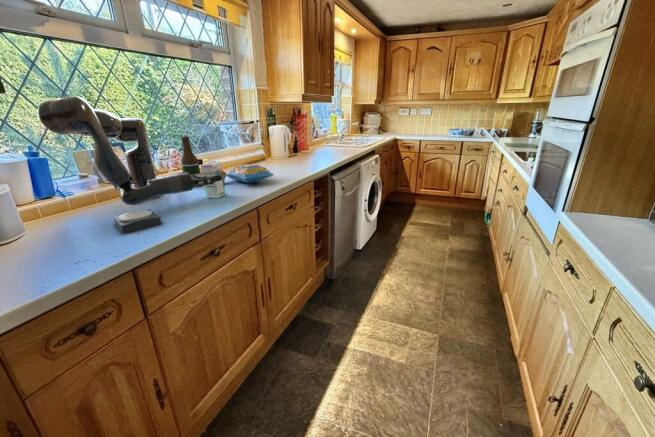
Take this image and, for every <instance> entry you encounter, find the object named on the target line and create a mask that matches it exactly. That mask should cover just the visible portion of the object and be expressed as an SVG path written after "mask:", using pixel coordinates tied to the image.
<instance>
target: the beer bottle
mask: <svg viewBox="0 0 655 437" xmlns="http://www.w3.org/2000/svg"><path fill="white" fill-rule="evenodd" d="M180 140H181V144H182V156H181V158H180V164H181V170H182V173H184V172H188V173H189V174H190V175H192V174H198V173H200V174H201V169H200V164H199V163H200V162H199V160H198V158H197V156H196V155H195V154H194V153H193V149H192V146H191V141H190V136H187V135H184V136H183V135H182V136H181V137H180ZM199 187H200V186H199V185H198V186H197V185H193V188H199Z"/></svg>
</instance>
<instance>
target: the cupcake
mask: <svg viewBox="0 0 655 437" xmlns="http://www.w3.org/2000/svg"><path fill="white" fill-rule="evenodd" d="M211 162H214V160H213V159H212V160H211ZM221 171H222V177H223V182H224V183H225V179H226V178H227V177H228V176H227V173H228V172H226V171H224V170H222V169H221Z"/></svg>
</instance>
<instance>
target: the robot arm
mask: <svg viewBox="0 0 655 437" xmlns="http://www.w3.org/2000/svg"><path fill="white" fill-rule="evenodd" d="M37 117H38V119H39V121H40V122H41V124H42V125H43V127H45V128H46V129H47V130H49V131H50V132H52V133H54V134H57V135H60V136H66V135H81V136H87V137H91V139H92V140H93V164H94V166H95V168H96V170H97V171H98V172H99V173H100V175H101V176H102V177H103V178H104V179H105V180H106V182H108V183H109V184H110V185H112V186H113V188H115V191H116V192H117V194H118V196H119V197H120V199H121V202H122V203H123V204H125V205H128V206H139V205H141V204H144V203H146V202H148V201H151V200H152V199H155V198H158V197H162V196H167V195H175V194H180V193H186V192H192V191H193V189H194V187H193V185H197V186H198V185H199V187H202V186H205V185H209V184H214V182H216V181H221V180H222V176H221V175H218V176H210V177H207V176H203V174H202V173H201V172H200V173H198V174H192V175H190V174H189V173H188V172H184V173H183V172H178V173H172V174H168V175H164V176H158V177H157V176H156V172H155V167H154V163H153V159H152V155H151V148H150V144H149V138H148V132H147V128H146V124H145V122H144V120H142V119H141V118H139V117H128V118H127V117H126V118H124V117H123V118H119V117H118V116H117V115H116V114H114V113H112V112H109V111H107V110H103V109H97V108H92V106H91V105H90V104H89V103H88V102H87V101H86V100H85V99H84V98H82V97H80V96H67V97H60V98H54V99H49V100H48V99H47V100H44V101H43V102H41V103H40V104H39V105H38V107H37ZM110 140H117V141H119V142H124V143H131V142H133V143H135V142H136V146H135V147H134V148H132V149H130V150H127V151H125V153H124V156H125V160H126V164H127V167H126V166H125V164H124V163H123V162H122V160H121V159H120V158H119V156H118V155H117V153H116V151H115V150H114V148H113V146H112V144H111V141H110ZM127 168H128V169H127ZM204 178H205V179H204ZM209 179H210V181H208V180H209Z"/></svg>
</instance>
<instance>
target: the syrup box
mask: <svg viewBox="0 0 655 437" xmlns="http://www.w3.org/2000/svg"><path fill="white" fill-rule="evenodd" d="M200 167H201V169H200V170H201V174H203V176H207V177H210V176H218V175H221V176H222V171H223V170H222V166H221V162H220V161H213V162H212V161H209V162H206V163H203V164H200ZM221 170H222V171H221ZM204 179H205V178H204ZM208 181H210V179H209V180H208ZM204 188H205V193H206V198H208V199H220V198H221V197H223V196H225V195H226V188H225V181H224V182H223V177H222V180H221V181H216V182H214V184H209V185H204Z"/></svg>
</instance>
